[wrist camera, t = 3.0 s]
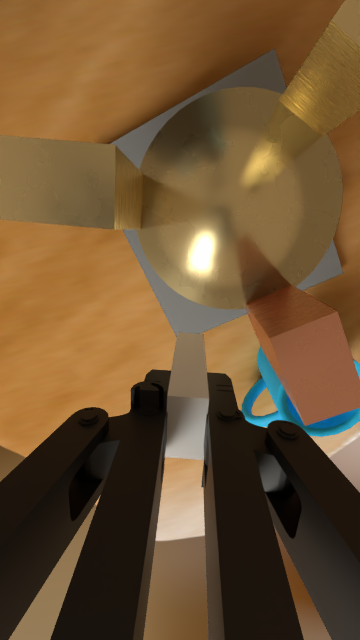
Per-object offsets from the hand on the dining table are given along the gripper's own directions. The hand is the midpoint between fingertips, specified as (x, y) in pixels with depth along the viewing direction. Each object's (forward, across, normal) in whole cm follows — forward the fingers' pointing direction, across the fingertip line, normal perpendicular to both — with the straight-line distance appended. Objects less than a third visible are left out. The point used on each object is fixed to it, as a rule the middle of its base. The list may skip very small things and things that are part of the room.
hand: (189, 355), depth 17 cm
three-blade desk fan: (+6, +3, +6) cm, 9 cm away
